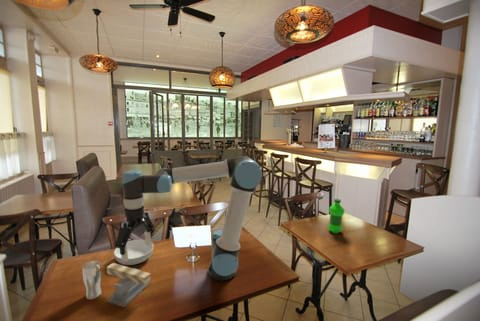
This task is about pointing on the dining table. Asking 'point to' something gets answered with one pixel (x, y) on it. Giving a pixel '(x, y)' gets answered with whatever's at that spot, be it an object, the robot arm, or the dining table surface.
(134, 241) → the serving bowl
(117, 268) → the beech bar
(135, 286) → the slate ridge
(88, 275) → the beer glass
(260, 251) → the dining table surface
